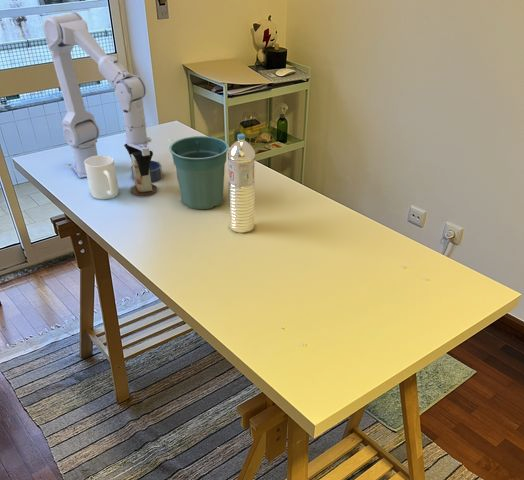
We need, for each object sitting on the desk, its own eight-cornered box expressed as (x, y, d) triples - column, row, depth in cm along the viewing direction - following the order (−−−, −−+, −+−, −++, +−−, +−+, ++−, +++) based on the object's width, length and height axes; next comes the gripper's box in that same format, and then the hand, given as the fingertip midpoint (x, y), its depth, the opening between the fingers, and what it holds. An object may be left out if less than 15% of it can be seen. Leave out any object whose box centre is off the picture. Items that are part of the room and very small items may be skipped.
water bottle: (251, 234, 145) (251, 140, 128) (226, 232, 145) (224, 138, 129) (256, 223, 150) (257, 131, 133) (232, 220, 151) (230, 129, 134)
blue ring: (129, 174, 174) (127, 163, 171) (156, 168, 177) (155, 158, 175) (138, 184, 168) (136, 173, 165) (166, 179, 171) (165, 168, 169)
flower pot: (204, 219, 151) (201, 162, 140) (162, 202, 158) (156, 147, 148) (241, 199, 161) (240, 145, 150) (200, 184, 168) (197, 132, 158)
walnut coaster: (127, 188, 165) (126, 186, 165) (152, 183, 168) (151, 181, 168) (135, 198, 160) (135, 196, 160) (161, 193, 163) (160, 191, 163)
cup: (113, 185, 167) (107, 153, 160) (128, 200, 159) (123, 167, 152) (87, 191, 163) (80, 158, 156) (101, 207, 156) (94, 173, 149)
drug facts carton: (134, 186, 165) (130, 153, 159) (149, 184, 166) (144, 151, 160) (138, 193, 162) (133, 160, 155) (152, 191, 163) (148, 158, 156)
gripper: (157, 130, 148) (162, 177, 157) (140, 115, 158) (146, 160, 167) (132, 134, 146) (139, 182, 154) (116, 118, 155) (124, 164, 164)
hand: (141, 171), depth 160 cm, fingers closed on drug facts carton, 5 cm apart
